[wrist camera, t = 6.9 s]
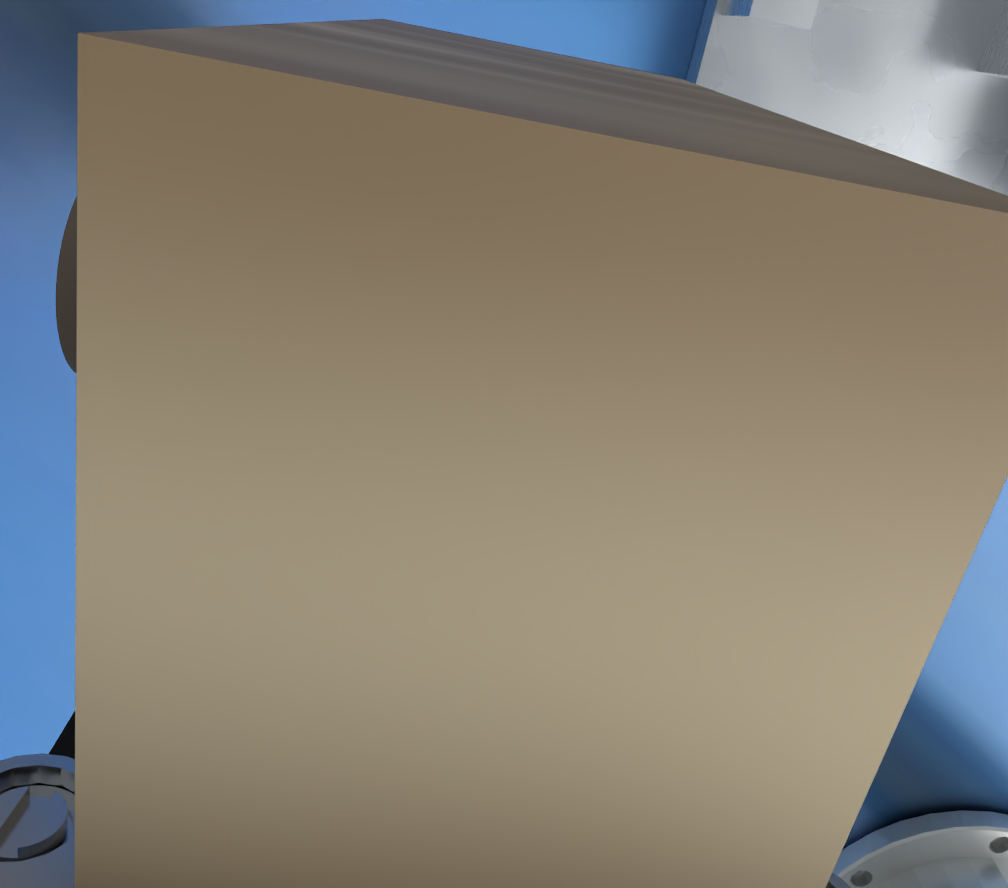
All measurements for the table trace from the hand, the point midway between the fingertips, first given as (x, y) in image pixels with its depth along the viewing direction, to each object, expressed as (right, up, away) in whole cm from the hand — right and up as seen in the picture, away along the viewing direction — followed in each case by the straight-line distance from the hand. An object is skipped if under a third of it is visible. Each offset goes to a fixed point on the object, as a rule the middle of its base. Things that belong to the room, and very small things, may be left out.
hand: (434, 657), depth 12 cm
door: (0, +2, +4) cm, 4 cm away
